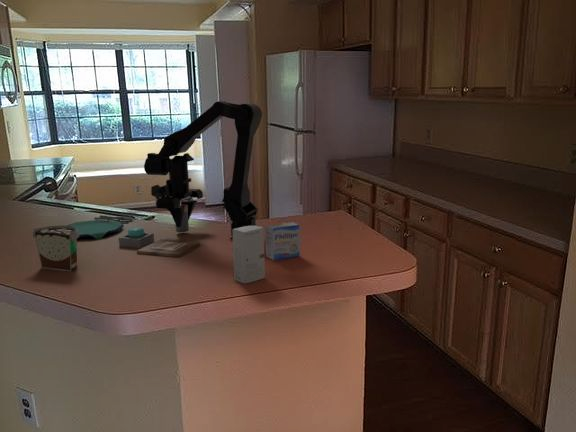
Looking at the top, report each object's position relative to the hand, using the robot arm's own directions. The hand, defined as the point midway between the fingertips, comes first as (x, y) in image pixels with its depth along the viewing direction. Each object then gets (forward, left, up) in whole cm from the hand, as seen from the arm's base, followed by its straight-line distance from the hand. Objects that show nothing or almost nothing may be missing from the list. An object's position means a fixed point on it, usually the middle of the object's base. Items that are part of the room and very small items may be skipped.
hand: (182, 225), depth 154 cm
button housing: (+7, +14, -3) cm, 16 cm away
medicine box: (-38, +14, -3) cm, 41 cm away
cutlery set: (+31, +1, -3) cm, 31 cm away
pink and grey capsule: (0, 0, -2) cm, 2 cm away
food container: (+13, +36, -3) cm, 38 cm away
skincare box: (-36, +32, -3) cm, 48 cm away
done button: (+7, +14, -1) cm, 16 cm away
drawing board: (-5, +16, -3) cm, 17 cm away
